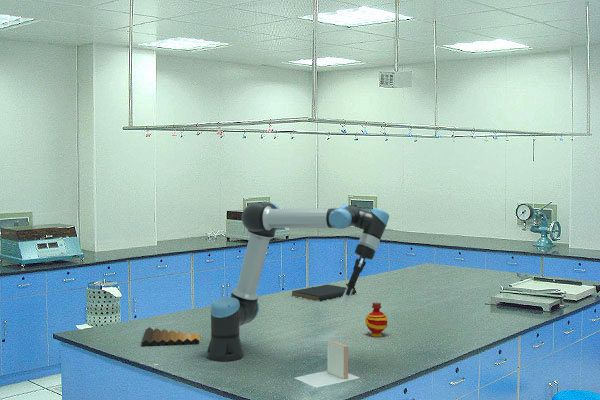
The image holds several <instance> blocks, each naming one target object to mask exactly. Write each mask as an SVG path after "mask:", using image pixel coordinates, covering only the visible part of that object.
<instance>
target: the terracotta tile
mask: <svg viewBox="0 0 600 400" xmlns="http://www.w3.org/2000/svg"><path fill="white" fill-rule="evenodd" d="M326 349H327V351H326V352H327V354H326V355H327V357H326V358H327V359H326V360H327V361H326V362H327V365H326V366H327V367H326V368H327V370H326V371H327V372H328V373H330V374H332V375H335V376H337V377H340V378H342V379H348V373H349V345H346V344H343V343H340V342H337V341H334V340H327V348H326Z"/></svg>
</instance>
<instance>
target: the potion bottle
mask: <svg viewBox="0 0 600 400" xmlns="http://www.w3.org/2000/svg"><path fill="white" fill-rule="evenodd" d="M371 308H372V311H371V312H369V313H367V315H366V316H365V321H364V322H365V325H366V328H367V329H368V330H369V331H370V332H371V334H370V336H371V337H375V338H376V337H377V338H378V337H379V338H380V337H382V336H383V335H382V332H383V331H385V329H387V328H388V322H389V321H388V316H386V314H385V313H384V312H383V311H381V310H380V309H381V308H382V303H381V302H372V306H371Z"/></svg>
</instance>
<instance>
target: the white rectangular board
mask: <svg viewBox="0 0 600 400" xmlns="http://www.w3.org/2000/svg"><path fill="white" fill-rule="evenodd" d="M294 379H295V380H297V381H300V382H302V383H303V384H304V383H305V384H306V385H309V386H311V387H313V388H316V389H318V388H322V387H323V388H324V387H327V386H331V385H335V384H339V383H345V382H349V381H353V380H356V379H357V380H358V379H361V377H359V376H356V375H355V374H351V373H349V372H348V379H342V378H340V377H337V376H335V375H332V374H330V373H328V372H327V370H324V371H320V372H319V371H318V372H314V373H309V374H304V375H300V376H297V377H294Z"/></svg>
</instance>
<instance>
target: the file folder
mask: <svg viewBox="0 0 600 400" xmlns="http://www.w3.org/2000/svg"><path fill="white" fill-rule="evenodd" d="M346 287H347V286H345V287H344V286H339V285H334V284H324V285H319V286H318V285H317V286H312V287H306V288H302V289H297V290H291V296H292V297H293V296H297V297H296V298H298V297H302V298H301V299H304V298H307V299H306V300H310V299H312V300H311V301H316V300H318V301H317V302H323V300H324V301H328V300H327V299H329V300H333V299H332V298H334V299H337V298H336V297H339V298H342V297H341V296H343V294H344V292H345V290H346ZM355 293H356V294H357V290H356V288H355V289H353V291H352V294H353V295H356V294H355ZM319 300H320V301H319Z"/></svg>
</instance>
